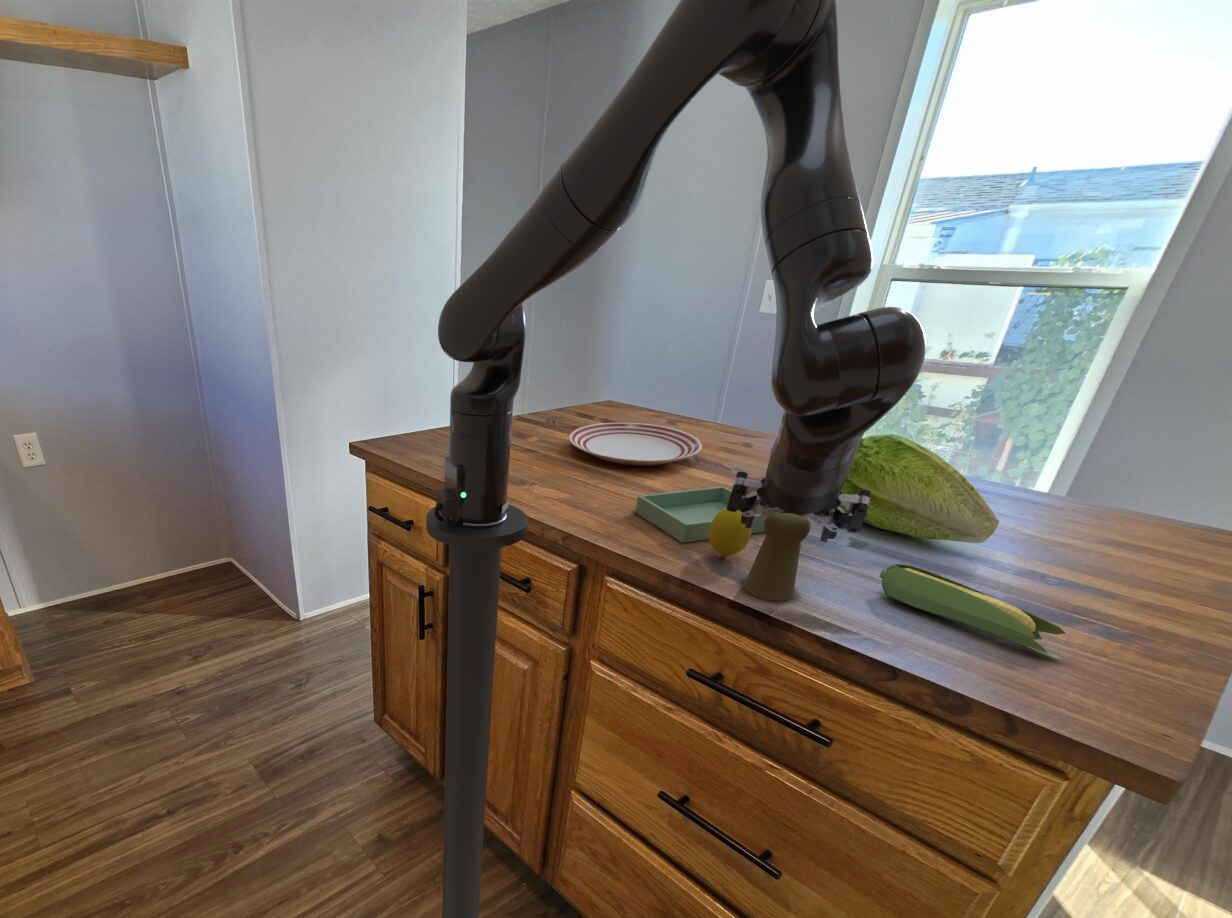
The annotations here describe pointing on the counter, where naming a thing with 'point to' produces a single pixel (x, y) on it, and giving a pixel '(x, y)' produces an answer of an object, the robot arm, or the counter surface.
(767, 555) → the olive brown pepper mill
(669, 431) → the dinner plate
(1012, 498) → the counter surface
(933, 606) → the edible corn
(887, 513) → the lettuce
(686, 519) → the spice tray
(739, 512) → the lemon
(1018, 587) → the counter surface
